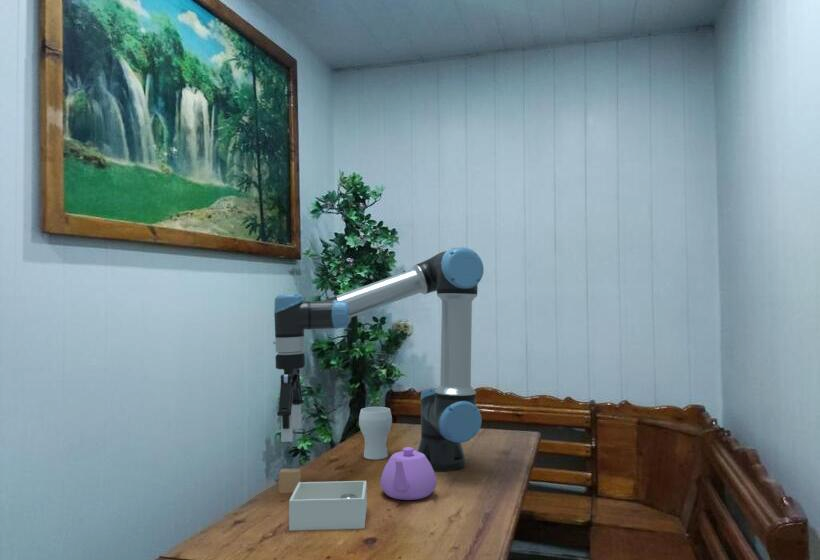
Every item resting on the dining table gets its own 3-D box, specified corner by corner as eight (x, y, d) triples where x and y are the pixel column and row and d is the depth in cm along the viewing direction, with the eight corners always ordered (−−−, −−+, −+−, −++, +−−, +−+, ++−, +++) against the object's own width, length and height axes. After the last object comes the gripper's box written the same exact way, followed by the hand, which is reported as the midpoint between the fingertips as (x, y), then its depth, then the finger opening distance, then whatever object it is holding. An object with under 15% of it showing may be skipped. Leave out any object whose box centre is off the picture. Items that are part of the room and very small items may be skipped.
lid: (366, 484, 146) (366, 462, 146) (364, 501, 133) (364, 476, 134) (284, 485, 145) (284, 463, 145) (274, 503, 132) (275, 478, 133)
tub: (366, 510, 127) (366, 480, 127) (364, 532, 115) (364, 498, 115) (298, 512, 126) (298, 482, 126) (289, 534, 114) (289, 500, 114)
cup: (387, 461, 166) (387, 413, 167) (355, 460, 168) (354, 412, 169) (395, 452, 177) (395, 406, 177) (364, 451, 179) (364, 405, 180)
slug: (356, 511, 124) (356, 493, 125) (355, 517, 121) (355, 499, 121) (341, 511, 124) (341, 494, 124) (339, 517, 121) (339, 499, 121)
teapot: (426, 515, 124) (425, 461, 124) (368, 510, 127) (367, 458, 128) (442, 486, 143) (442, 440, 143) (392, 483, 146) (391, 438, 147)
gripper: (284, 349, 153) (286, 424, 152) (264, 358, 128) (266, 448, 127) (311, 348, 153) (313, 423, 152) (296, 357, 128) (298, 446, 127)
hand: (292, 434), depth 140 cm, fingers open, 13 cm apart
